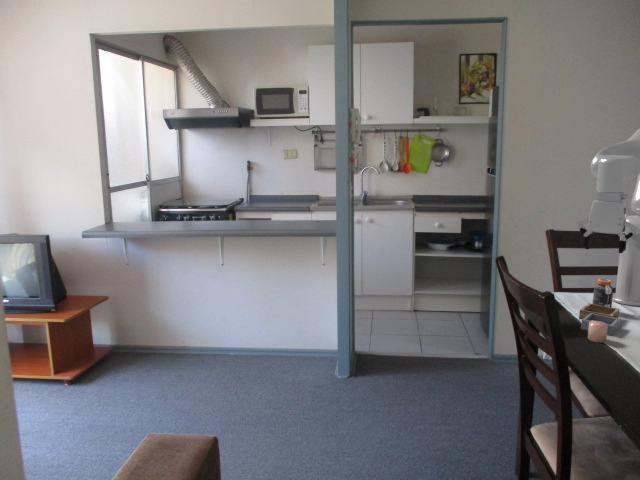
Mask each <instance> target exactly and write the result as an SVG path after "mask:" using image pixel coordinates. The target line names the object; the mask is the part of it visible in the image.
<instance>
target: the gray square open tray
mask: <svg viewBox="0 0 640 480" xmlns="http://www.w3.org/2000/svg"><path fill="white" fill-rule="evenodd" d="M590 321H601V322H605V323H607V324H608V328H607V336H612V335H614V334H615V332H616V331H618V329H619V328H620V321H621V318H613V317H608V316H603V315H598V314H593V313H590V314H588V315H587V316H586V317H585V318H583V319H582V320H581V322H580V323H581V324H580V325H581V326H580V329H581V330H585V331H588V329H589V322H590Z"/></svg>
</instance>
